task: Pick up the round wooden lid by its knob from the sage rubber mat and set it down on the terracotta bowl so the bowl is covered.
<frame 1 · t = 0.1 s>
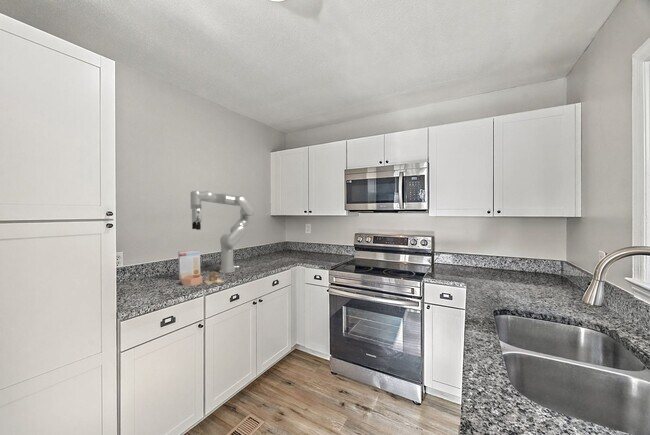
hand: (196, 229, 207), 37 cm above the worktop, tool pointing down, fingers open, 9 cm apart
lid: (213, 281, 190), point 1 cm above the worktop, touching mat
mat: (213, 282, 190), on the worktop
cracker box: (189, 278, 201), on the worktop
bowl: (192, 283, 186), on the worktop
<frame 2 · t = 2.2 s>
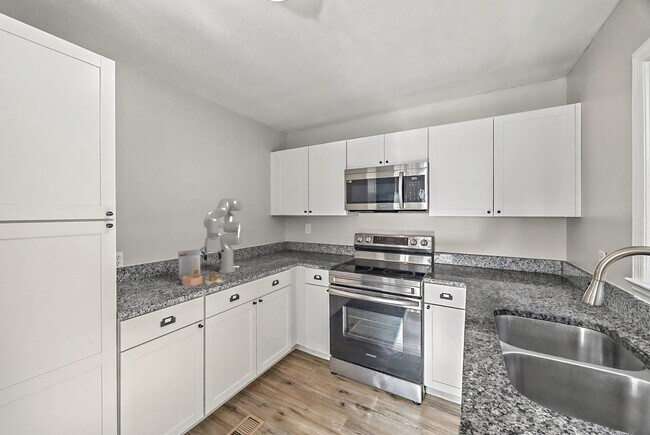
hand: (212, 259, 189), 16 cm above the worktop, tool pointing down, fingers open, 9 cm apart
nothing on the worktop moved.
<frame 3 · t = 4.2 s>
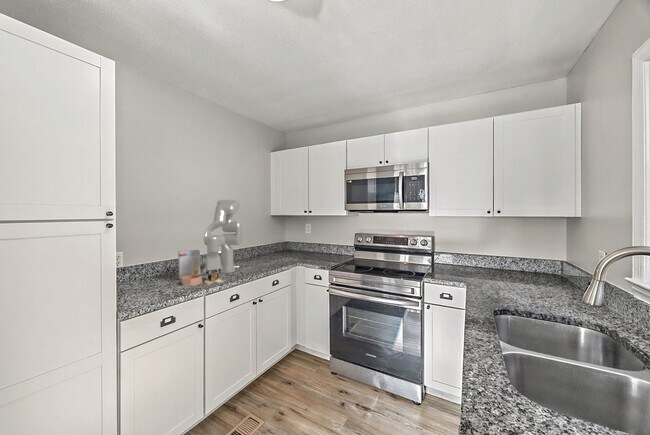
hand: (213, 279, 190), 2 cm above the worktop, tool pointing down, fingers closed on lid, 4 cm apart
lid: (213, 281, 190), point 1 cm above the worktop, touching gripper, mat
everything else where it was.
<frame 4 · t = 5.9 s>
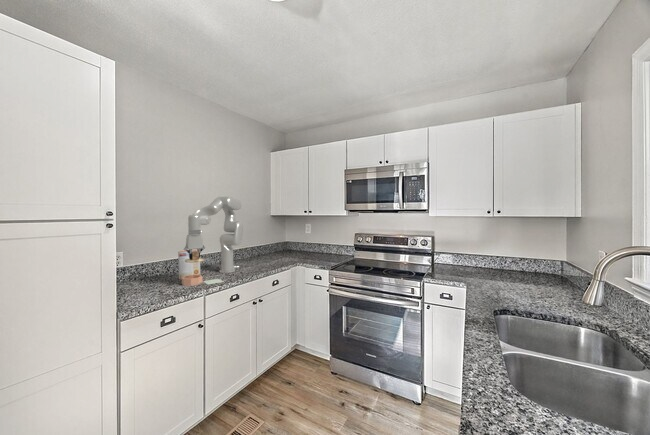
hand: (194, 258, 186), 18 cm above the worktop, tool pointing down, fingers closed on lid, 4 cm apart
lid: (194, 260, 186), point 16 cm above the worktop, touching gripper
everything else where it was.
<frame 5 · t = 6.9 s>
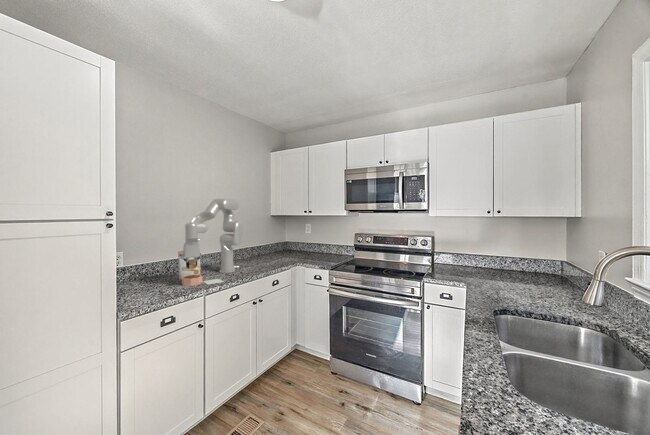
hand: (191, 266, 185), 12 cm above the worktop, tool pointing down, fingers closed on lid, 4 cm apart
lid: (191, 269, 185), point 10 cm above the worktop, touching gripper
everything else where it was.
when the fingers open (8 cm above the worktop, at t = 7.7 s): lid drops 2 cm, resting on bowl.
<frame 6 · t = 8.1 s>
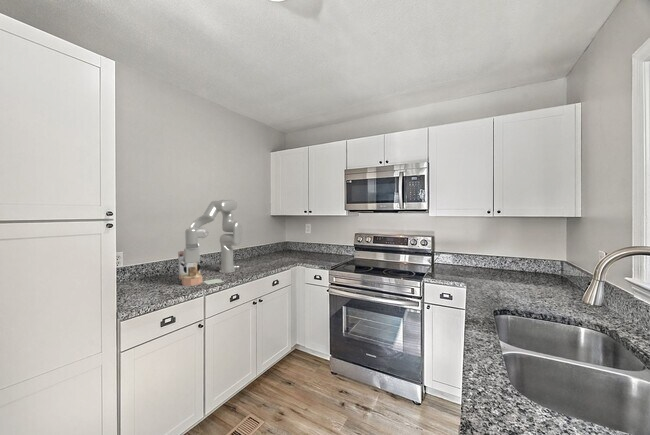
hand: (192, 271, 186), 9 cm above the worktop, tool pointing down, fingers open, 7 cm apart
lid: (192, 276, 186), point 5 cm above the worktop, touching bowl
everything else where it was.
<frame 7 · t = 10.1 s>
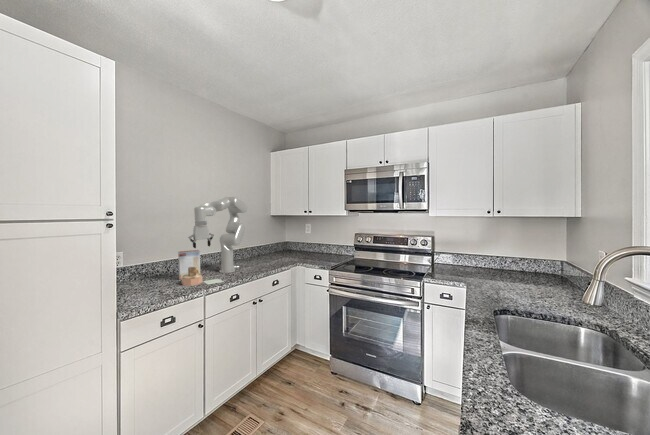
hand: (202, 247, 194), 25 cm above the worktop, tool pointing down, fingers open, 9 cm apart
nothing on the worktop moved.
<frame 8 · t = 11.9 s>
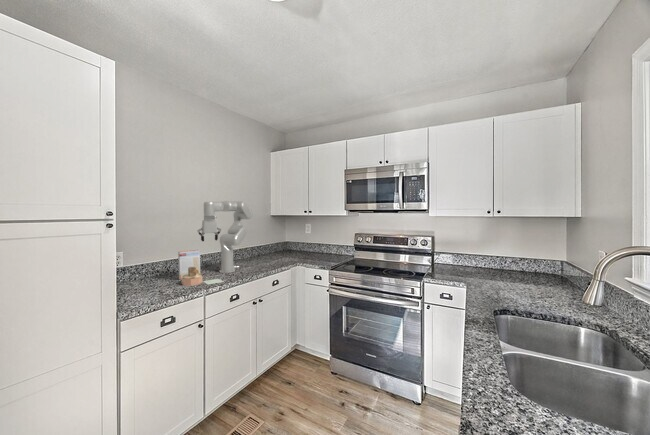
hand: (209, 240, 202), 28 cm above the worktop, tool pointing down, fingers open, 9 cm apart
nothing on the worktop moved.
at the end: lid 0.1 cm off-centre on the bowl, point 5.0 cm above the bowl's base; lid tilted 0°; the gripper is holding nothing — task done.
